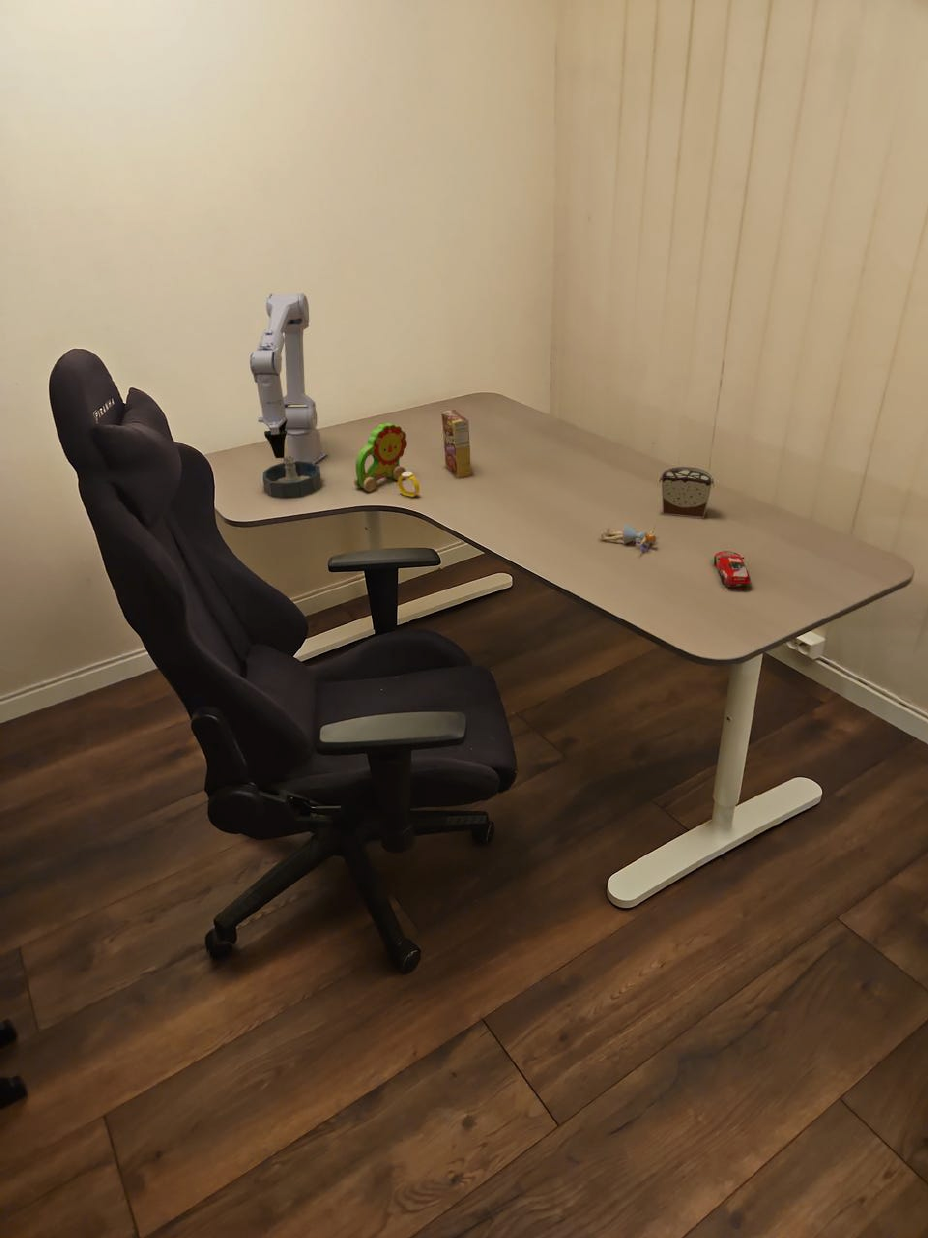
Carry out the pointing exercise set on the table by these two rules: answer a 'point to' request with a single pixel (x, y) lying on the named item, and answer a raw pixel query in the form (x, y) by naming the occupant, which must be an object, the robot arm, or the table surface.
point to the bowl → (278, 488)
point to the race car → (732, 569)
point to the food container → (686, 491)
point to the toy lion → (381, 456)
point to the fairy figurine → (630, 536)
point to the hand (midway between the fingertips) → (280, 452)
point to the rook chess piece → (290, 470)
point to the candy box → (456, 443)
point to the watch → (414, 480)
